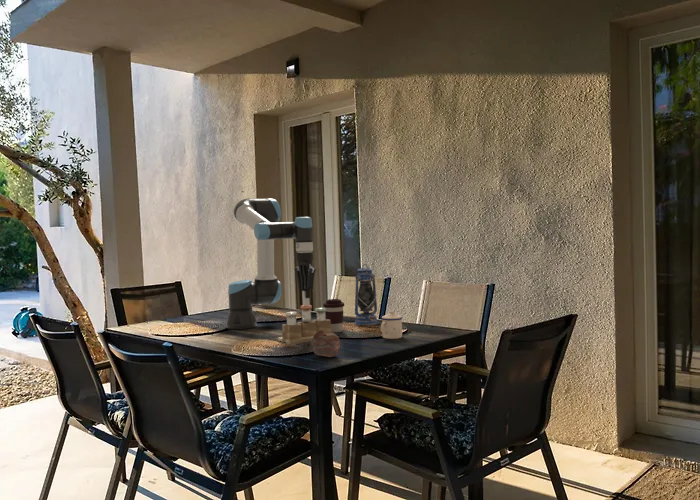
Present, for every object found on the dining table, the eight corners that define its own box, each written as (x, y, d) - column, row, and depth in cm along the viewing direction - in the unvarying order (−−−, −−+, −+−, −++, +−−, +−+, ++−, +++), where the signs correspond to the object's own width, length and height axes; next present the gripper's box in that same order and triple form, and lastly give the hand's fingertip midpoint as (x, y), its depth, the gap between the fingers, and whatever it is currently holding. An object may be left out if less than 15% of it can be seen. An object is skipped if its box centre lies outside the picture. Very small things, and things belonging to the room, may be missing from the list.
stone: (310, 356, 232) (309, 330, 232) (324, 352, 239) (323, 327, 238) (335, 359, 224) (334, 333, 224) (349, 355, 231) (348, 329, 231)
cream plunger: (283, 335, 263) (283, 312, 262) (293, 334, 266) (292, 311, 265) (290, 337, 259) (289, 313, 258) (299, 335, 262) (299, 312, 262)
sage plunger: (313, 331, 273) (313, 308, 272) (322, 329, 276) (322, 307, 275) (320, 332, 269) (319, 309, 268) (329, 330, 272) (328, 308, 272)
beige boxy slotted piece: (277, 340, 265) (277, 323, 265) (320, 333, 279) (319, 317, 279) (293, 344, 256) (292, 327, 255) (335, 337, 270) (335, 320, 270)
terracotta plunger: (299, 328, 268) (298, 305, 267) (308, 327, 271) (307, 304, 270) (305, 330, 264) (304, 306, 263) (314, 328, 267) (314, 305, 266)
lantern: (368, 320, 315) (366, 263, 314) (385, 322, 306) (384, 263, 305) (347, 324, 304) (345, 264, 303) (364, 326, 295) (362, 265, 294)
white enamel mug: (390, 334, 273) (390, 308, 272) (406, 336, 266) (406, 310, 266) (373, 338, 264) (372, 312, 263) (389, 341, 258) (389, 313, 257)
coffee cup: (342, 333, 279) (341, 301, 278) (321, 333, 281) (320, 301, 280) (347, 329, 289) (346, 298, 288) (326, 329, 291) (325, 298, 290)
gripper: (289, 252, 269) (290, 305, 269) (305, 252, 258) (307, 307, 259) (303, 251, 273) (304, 303, 274) (320, 251, 263) (321, 305, 264)
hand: (306, 305), depth 267 cm, fingers closed
